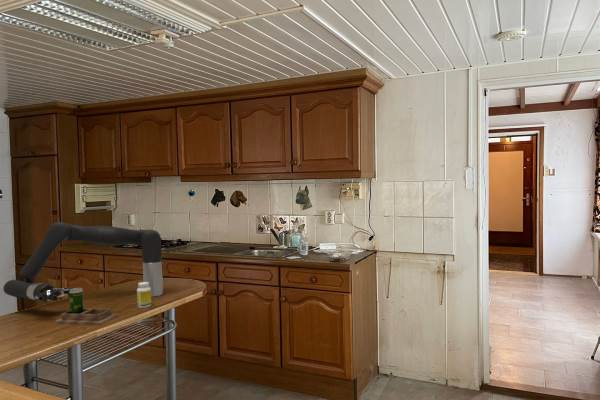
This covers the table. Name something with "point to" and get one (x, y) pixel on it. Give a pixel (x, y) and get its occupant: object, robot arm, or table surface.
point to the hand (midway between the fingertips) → (65, 295)
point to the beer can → (76, 301)
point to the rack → (87, 317)
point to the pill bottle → (143, 295)
